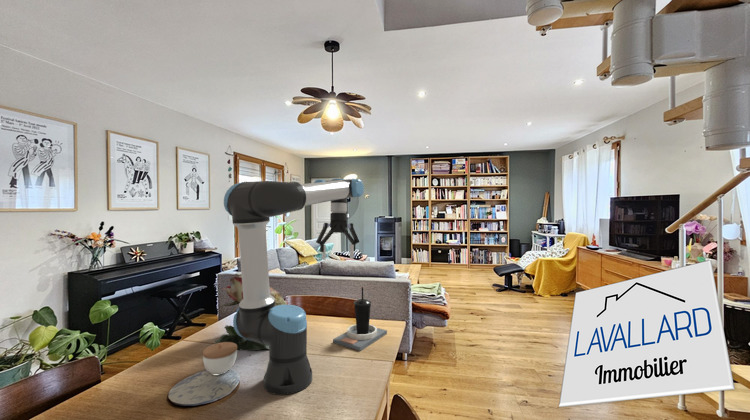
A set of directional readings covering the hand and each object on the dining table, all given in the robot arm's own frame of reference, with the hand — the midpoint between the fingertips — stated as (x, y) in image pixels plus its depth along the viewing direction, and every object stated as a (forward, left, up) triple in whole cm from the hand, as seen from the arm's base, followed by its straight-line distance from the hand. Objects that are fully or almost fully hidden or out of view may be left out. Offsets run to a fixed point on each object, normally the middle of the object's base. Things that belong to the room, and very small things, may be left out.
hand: (338, 259), depth 147 cm
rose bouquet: (-26, +23, -32) cm, 48 cm away
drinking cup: (-2, -15, -31) cm, 34 cm away
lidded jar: (-51, +10, -32) cm, 61 cm away
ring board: (-3, -15, -32) cm, 35 cm away
